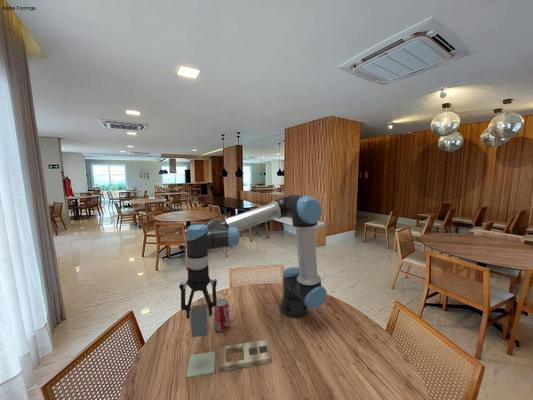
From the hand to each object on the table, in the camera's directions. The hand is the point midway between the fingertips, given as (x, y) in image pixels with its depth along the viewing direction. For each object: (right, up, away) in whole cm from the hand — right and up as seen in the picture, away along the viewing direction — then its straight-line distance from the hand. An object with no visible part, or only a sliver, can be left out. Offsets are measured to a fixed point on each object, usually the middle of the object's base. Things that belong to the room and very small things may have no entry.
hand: (199, 324), depth 83 cm
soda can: (+4, -15, +23) cm, 27 cm away
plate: (+17, -16, +5) cm, 24 cm away
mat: (0, -17, +2) cm, 17 cm away
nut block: (0, -3, 0) cm, 3 cm away
